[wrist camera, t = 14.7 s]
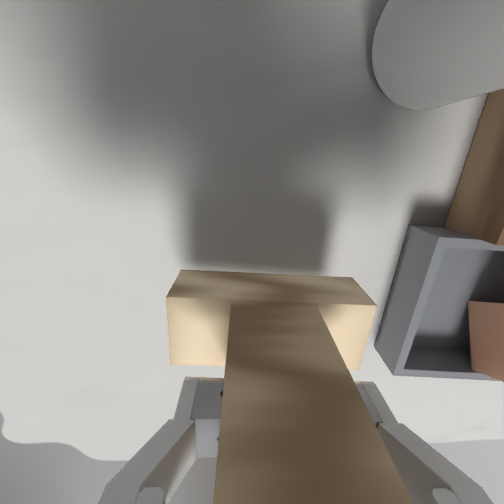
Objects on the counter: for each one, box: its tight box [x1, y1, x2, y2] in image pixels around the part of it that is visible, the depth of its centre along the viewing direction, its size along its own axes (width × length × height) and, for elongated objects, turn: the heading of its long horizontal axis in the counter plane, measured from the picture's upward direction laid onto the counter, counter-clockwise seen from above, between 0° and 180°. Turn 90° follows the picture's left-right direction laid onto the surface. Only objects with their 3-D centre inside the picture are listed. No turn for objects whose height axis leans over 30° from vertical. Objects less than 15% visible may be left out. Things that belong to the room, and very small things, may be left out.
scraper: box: [166, 270, 413, 504], centre depth 10 cm, size 10×4×12 cm, turn 86°
